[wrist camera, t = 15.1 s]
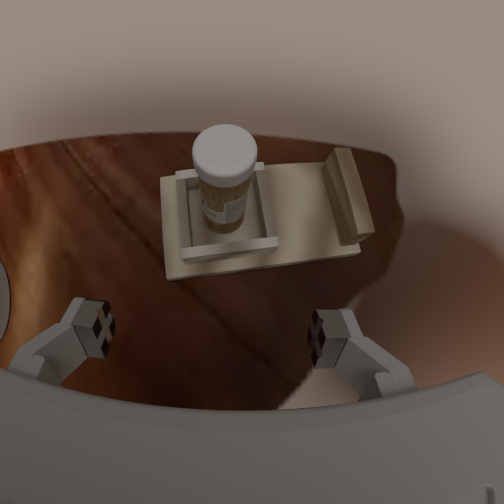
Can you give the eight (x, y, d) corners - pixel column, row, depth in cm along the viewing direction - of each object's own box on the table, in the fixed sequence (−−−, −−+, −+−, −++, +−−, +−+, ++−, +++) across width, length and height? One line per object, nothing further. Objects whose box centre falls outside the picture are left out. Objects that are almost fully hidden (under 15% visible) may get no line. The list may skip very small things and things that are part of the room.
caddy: (169, 280, 31) (155, 270, 25) (162, 183, 34) (151, 155, 27) (355, 255, 34) (381, 240, 27) (333, 167, 36) (351, 140, 30)
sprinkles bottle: (196, 209, 32) (179, 138, 19) (231, 189, 32) (235, 112, 19) (217, 243, 31) (212, 187, 18) (253, 221, 32) (271, 156, 19)
